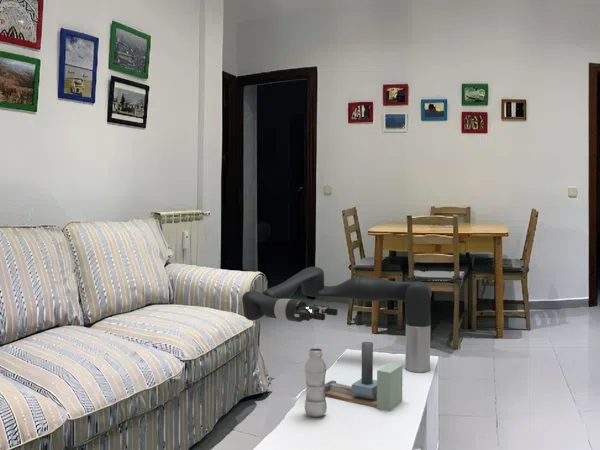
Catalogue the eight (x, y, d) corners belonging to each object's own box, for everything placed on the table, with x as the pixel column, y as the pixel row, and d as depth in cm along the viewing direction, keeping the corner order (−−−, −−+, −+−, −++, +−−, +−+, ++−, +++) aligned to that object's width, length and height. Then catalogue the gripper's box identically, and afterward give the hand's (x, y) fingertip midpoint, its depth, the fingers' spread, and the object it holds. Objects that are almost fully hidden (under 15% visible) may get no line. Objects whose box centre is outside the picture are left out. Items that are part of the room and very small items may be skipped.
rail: (334, 387, 192) (334, 379, 192) (388, 398, 182) (388, 389, 182) (321, 395, 185) (321, 386, 184) (376, 407, 174) (376, 398, 174)
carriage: (362, 388, 186) (362, 339, 185) (381, 392, 182) (382, 342, 181) (351, 396, 179) (352, 344, 178) (371, 400, 175) (372, 347, 175)
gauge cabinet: (387, 398, 182) (387, 362, 182) (402, 401, 180) (402, 364, 179) (374, 407, 174) (375, 370, 173) (390, 411, 171) (390, 372, 171)
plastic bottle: (324, 420, 164) (325, 353, 163) (302, 418, 165) (302, 352, 164) (328, 412, 170) (328, 347, 169) (306, 410, 172) (306, 346, 171)
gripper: (278, 302, 189) (320, 307, 180) (301, 296, 201) (340, 300, 192) (279, 324, 189) (320, 330, 181) (301, 316, 201) (341, 321, 193)
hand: (331, 314), depth 186 cm, fingers open, 8 cm apart
